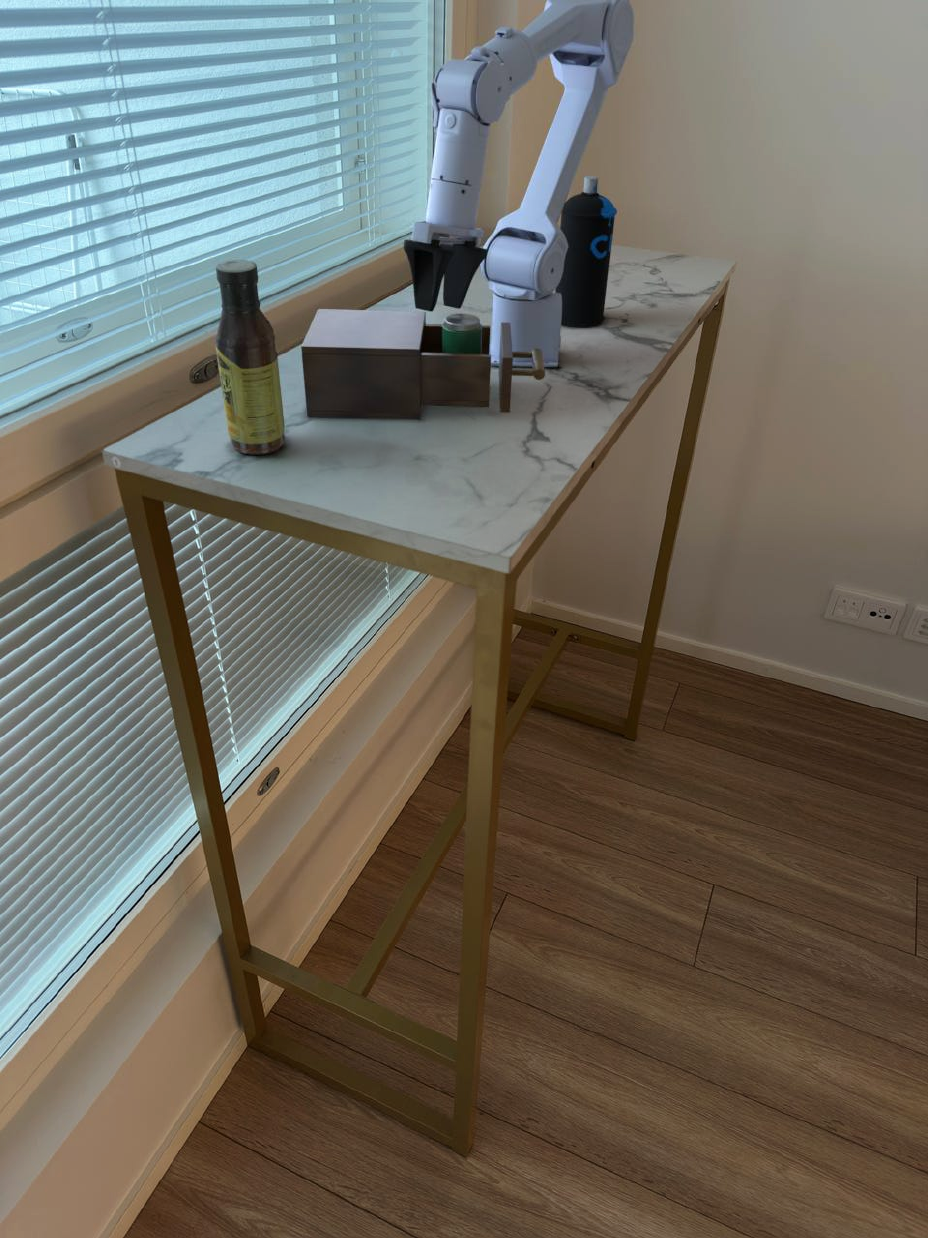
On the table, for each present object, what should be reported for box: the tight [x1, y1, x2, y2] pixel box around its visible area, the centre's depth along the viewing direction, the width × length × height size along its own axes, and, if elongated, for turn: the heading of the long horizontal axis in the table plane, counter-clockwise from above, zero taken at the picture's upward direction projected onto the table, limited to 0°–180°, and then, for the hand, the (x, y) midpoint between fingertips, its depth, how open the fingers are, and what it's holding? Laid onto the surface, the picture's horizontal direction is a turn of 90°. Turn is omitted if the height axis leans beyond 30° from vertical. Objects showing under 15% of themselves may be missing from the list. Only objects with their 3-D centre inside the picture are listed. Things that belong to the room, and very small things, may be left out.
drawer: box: [420, 323, 546, 414], centre depth 111 cm, size 17×12×7 cm
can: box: [442, 313, 483, 354], centre depth 110 cm, size 5×5×8 cm
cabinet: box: [300, 308, 427, 421], centre depth 111 cm, size 14×14×9 cm
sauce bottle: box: [214, 259, 286, 456], centre depth 96 cm, size 6×6×20 cm
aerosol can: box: [554, 175, 618, 328], centre depth 134 cm, size 8×8×20 cm
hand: (438, 308), depth 108 cm, fingers open, 7 cm apart
